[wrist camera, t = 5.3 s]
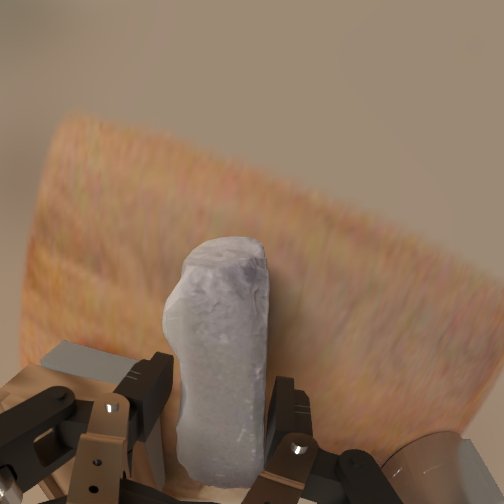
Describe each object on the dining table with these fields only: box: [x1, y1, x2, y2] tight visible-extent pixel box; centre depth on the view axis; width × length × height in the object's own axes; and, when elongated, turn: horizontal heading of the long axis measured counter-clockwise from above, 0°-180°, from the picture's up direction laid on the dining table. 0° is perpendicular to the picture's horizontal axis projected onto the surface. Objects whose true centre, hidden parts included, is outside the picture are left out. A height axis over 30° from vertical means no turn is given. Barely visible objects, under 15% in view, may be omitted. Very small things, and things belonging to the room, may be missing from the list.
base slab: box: [40, 340, 166, 492], centre depth 22 cm, size 8×15×4 cm, turn 174°
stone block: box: [162, 237, 270, 489], centre depth 16 cm, size 12×5×10 cm, turn 178°
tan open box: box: [0, 363, 159, 500], centre depth 18 cm, size 9×15×5 cm, turn 179°
